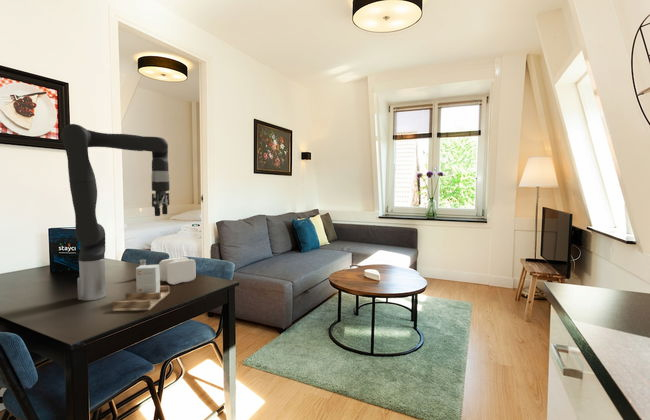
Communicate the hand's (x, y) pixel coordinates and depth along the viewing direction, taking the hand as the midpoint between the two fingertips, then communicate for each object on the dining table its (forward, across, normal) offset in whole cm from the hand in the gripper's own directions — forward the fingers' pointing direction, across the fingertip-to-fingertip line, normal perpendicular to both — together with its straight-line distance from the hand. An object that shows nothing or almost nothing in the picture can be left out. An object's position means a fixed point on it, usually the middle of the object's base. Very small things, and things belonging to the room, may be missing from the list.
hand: (161, 215), depth 156 cm
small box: (+35, +11, -2) cm, 37 cm away
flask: (+36, -20, -18) cm, 45 cm away
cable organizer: (+36, -14, +2) cm, 39 cm away
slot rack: (+36, +16, -2) cm, 40 cm away
